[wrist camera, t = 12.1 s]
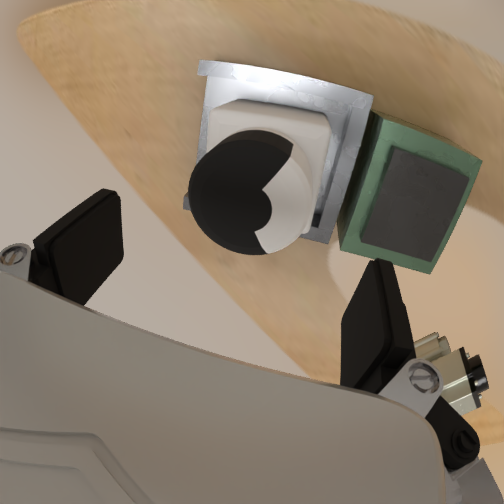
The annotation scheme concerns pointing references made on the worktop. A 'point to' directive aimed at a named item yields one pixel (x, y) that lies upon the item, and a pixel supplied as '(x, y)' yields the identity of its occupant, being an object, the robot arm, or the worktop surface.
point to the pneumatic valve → (455, 372)
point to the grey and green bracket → (362, 166)
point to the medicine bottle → (259, 175)
